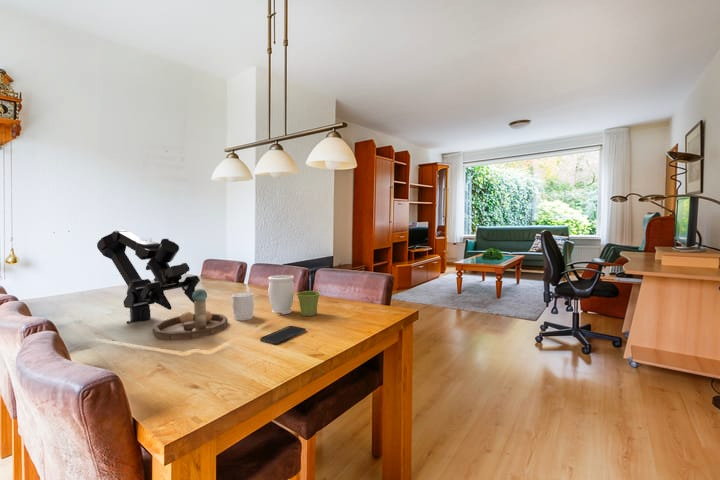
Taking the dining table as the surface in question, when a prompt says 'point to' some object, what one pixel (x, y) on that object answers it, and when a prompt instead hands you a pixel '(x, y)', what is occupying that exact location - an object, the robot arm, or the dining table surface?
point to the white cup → (243, 305)
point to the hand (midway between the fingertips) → (183, 305)
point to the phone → (283, 335)
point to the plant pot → (308, 302)
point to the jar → (281, 293)
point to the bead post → (200, 309)
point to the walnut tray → (188, 328)
